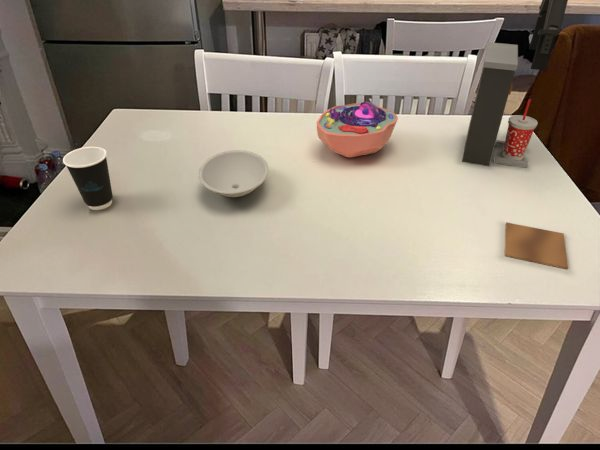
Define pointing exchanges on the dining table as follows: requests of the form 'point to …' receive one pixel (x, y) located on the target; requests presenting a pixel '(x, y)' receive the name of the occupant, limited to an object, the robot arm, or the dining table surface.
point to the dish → (233, 172)
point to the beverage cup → (518, 135)
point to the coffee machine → (491, 105)
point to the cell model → (356, 128)
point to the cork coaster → (535, 245)
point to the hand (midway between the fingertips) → (536, 58)
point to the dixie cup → (90, 175)
